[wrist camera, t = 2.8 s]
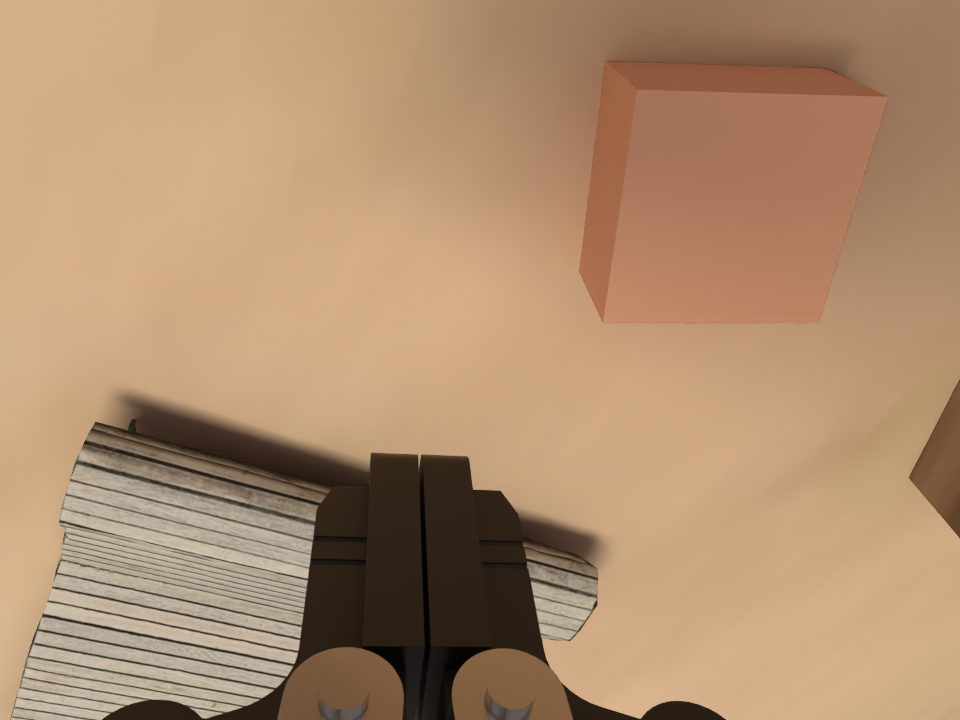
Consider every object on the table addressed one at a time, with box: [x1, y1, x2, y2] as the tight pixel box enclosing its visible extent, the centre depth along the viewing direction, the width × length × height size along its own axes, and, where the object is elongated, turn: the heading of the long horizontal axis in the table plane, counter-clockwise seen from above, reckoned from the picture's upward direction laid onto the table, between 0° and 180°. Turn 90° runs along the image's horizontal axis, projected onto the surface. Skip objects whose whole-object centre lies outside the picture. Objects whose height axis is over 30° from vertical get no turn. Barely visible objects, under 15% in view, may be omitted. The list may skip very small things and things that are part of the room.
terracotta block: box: [579, 61, 888, 323], centre depth 28 cm, size 8×8×4 cm
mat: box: [11, 420, 598, 720], centre depth 39 cm, size 23×24×5 cm
